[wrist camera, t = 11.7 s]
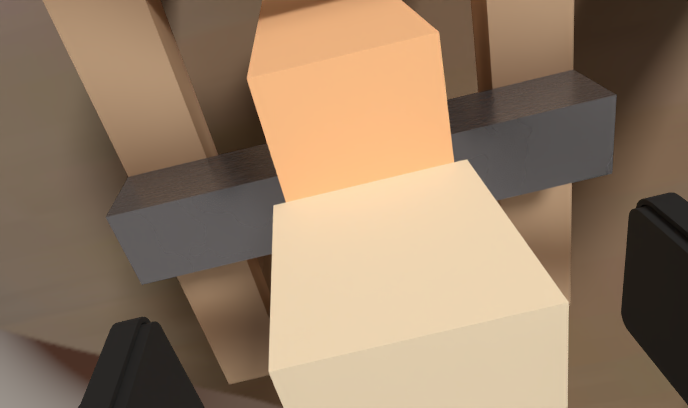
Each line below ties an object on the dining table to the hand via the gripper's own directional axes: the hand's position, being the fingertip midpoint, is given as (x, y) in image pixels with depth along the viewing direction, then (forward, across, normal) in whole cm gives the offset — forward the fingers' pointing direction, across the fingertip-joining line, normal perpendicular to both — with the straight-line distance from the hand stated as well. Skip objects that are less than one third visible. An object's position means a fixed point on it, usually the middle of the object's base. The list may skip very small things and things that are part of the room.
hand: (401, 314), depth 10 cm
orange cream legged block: (+15, 0, 0) cm, 15 cm away
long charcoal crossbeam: (+7, 0, 0) cm, 7 cm away
